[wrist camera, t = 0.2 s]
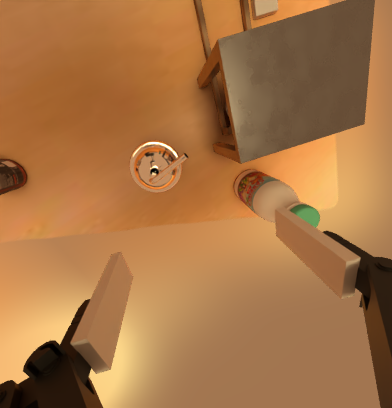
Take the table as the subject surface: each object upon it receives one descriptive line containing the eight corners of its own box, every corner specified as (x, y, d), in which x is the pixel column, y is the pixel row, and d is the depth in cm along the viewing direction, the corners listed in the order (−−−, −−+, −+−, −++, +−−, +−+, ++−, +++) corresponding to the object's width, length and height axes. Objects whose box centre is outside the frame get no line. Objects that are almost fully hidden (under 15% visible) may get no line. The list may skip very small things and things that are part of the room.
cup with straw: (133, 142, 37) (98, 153, 19) (176, 134, 38) (184, 136, 19) (145, 182, 40) (125, 224, 22) (185, 173, 41) (198, 208, 22)
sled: (180, -62, 27) (190, -217, 15) (234, -78, 27) (286, -244, 15) (222, 134, 39) (246, 135, 26) (260, 122, 39) (302, 118, 27)
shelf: (196, 79, 34) (217, 39, 20) (288, 50, 35) (375, -9, 20) (214, 151, 40) (240, 163, 25) (292, 126, 40) (364, 124, 26)
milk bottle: (267, 170, 43) (340, 199, 25) (259, 200, 46) (319, 246, 28) (236, 167, 42) (289, 195, 24) (230, 198, 45) (273, 245, 26)
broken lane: (241, -81, 28) (264, -148, 21) (266, -88, 28) (296, -157, 21) (265, 120, 39) (285, 118, 32) (282, 115, 39) (306, 111, 32)
